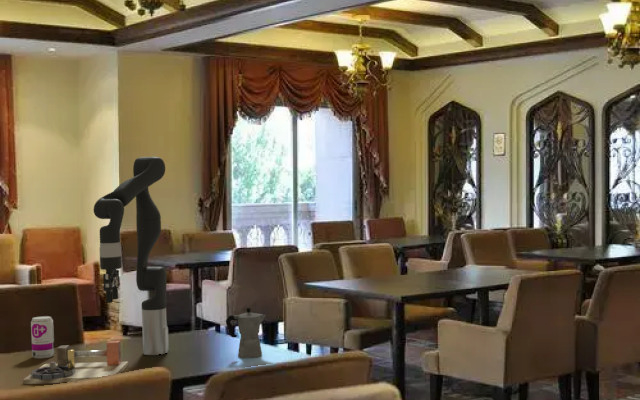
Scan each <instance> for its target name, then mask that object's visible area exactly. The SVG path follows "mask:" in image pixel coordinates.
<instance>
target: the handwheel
mask: <svg viewBox="0 0 640 400" xmlns="http://www.w3.org/2000/svg"><path fill="white" fill-rule="evenodd" d="M74 351H75V350H74V349H70V350H68V366H56V371H53V372H50V366H49V367H43V368H40V367H37V368H35V369H33V370H32V371H31V372H30V374H31V377H32V378H34V379H42V380H44V379H58V378H64V377H68V376H72V375H73V374H75V363H76V362H75V360H76V359H75V357H74ZM64 371H66V372H64Z"/></svg>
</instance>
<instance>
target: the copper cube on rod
mask: <svg viewBox="0 0 640 400" xmlns="http://www.w3.org/2000/svg"><path fill="white" fill-rule="evenodd" d="M121 346H122V345H121V340H108V342H106V349H100V350H94V349H93V350H74V358H97V357H101V358H102V357H106V362H107V365H119V364H120V363H121V362H122V352H121V351H122V349H121Z"/></svg>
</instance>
